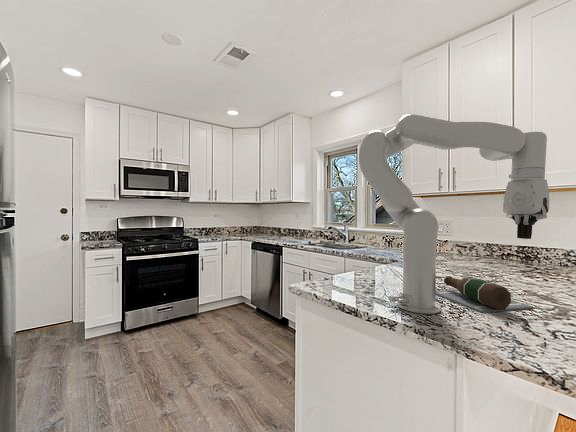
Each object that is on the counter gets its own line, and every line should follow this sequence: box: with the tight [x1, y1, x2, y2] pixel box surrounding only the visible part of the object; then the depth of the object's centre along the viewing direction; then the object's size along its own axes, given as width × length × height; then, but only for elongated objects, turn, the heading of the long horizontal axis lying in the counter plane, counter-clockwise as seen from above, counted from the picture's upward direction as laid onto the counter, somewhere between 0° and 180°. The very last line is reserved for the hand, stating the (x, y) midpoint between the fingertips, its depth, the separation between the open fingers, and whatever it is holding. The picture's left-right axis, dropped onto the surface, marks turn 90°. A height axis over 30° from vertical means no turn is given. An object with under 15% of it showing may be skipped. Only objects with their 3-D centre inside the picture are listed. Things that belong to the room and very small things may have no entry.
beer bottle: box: [443, 276, 512, 310], centre depth 98 cm, size 8×8×24 cm
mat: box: [435, 289, 534, 314], centre depth 99 cm, size 20×22×1 cm
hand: (524, 238), depth 82 cm, fingers closed
